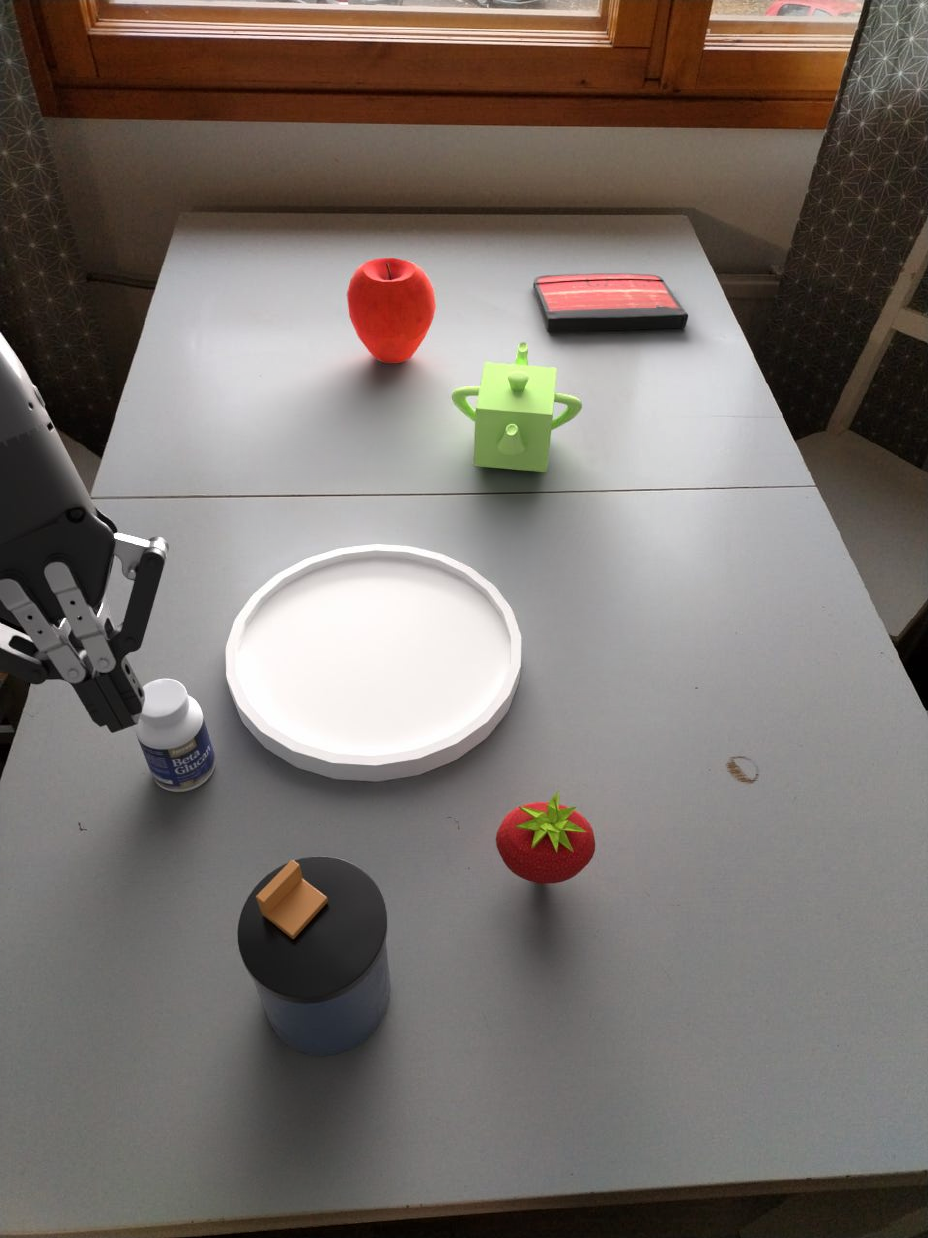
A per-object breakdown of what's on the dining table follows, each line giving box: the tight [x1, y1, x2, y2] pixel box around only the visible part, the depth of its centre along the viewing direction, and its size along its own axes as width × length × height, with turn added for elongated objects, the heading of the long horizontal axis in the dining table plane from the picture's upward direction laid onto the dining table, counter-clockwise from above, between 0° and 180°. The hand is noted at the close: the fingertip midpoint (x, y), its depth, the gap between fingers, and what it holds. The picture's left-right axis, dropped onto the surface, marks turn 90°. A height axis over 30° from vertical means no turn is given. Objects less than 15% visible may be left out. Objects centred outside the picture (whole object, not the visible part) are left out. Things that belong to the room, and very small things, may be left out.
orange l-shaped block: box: [256, 859, 328, 939], centre depth 56 cm, size 3×3×2 cm
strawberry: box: [495, 789, 596, 885], centre depth 67 cm, size 6×8×10 cm
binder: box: [532, 272, 689, 333], centre depth 136 cm, size 16×2×21 cm
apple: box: [346, 257, 437, 364], centre depth 121 cm, size 12×12×13 cm
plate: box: [225, 543, 522, 783], centre depth 85 cm, size 28×28×2 cm
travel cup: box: [236, 855, 391, 1057], centre depth 60 cm, size 9×9×11 cm
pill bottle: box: [133, 678, 217, 793], centre depth 74 cm, size 5×5×10 cm
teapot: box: [451, 341, 583, 473], centre depth 107 cm, size 15×13×11 cm
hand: (128, 721), depth 51 cm, fingers closed
